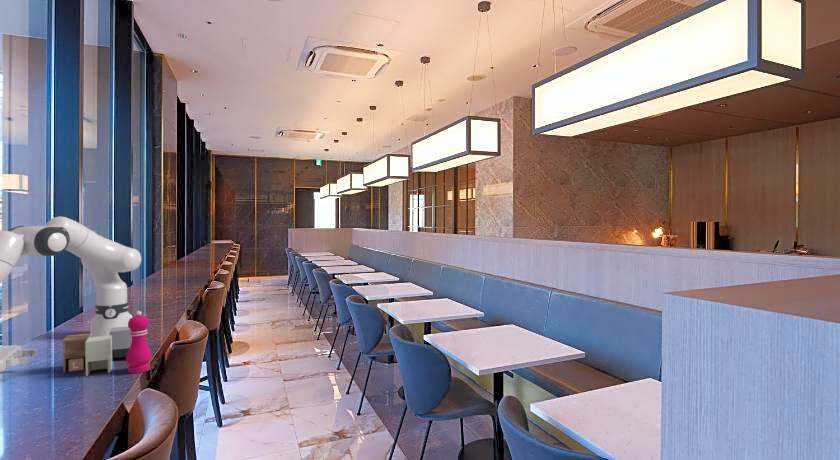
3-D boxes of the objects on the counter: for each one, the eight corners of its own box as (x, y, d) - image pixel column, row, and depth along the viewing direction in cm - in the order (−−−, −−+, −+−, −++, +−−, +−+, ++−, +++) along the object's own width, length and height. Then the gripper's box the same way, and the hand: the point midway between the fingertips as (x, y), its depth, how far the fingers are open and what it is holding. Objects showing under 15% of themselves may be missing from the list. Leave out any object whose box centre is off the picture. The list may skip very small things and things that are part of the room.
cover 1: (89, 370, 151) (88, 337, 151) (112, 367, 154) (111, 335, 154) (85, 376, 145) (85, 342, 145) (109, 372, 148) (109, 339, 148)
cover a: (67, 367, 154) (67, 335, 154) (90, 364, 157) (90, 333, 157) (63, 373, 148) (62, 339, 148) (87, 370, 151) (86, 337, 151)
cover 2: (112, 357, 165) (111, 327, 165) (132, 355, 168) (132, 326, 168) (109, 362, 159) (109, 331, 159) (131, 360, 162) (130, 329, 162)
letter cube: (71, 368, 153) (71, 356, 153) (85, 366, 155) (85, 355, 155) (68, 371, 150) (68, 359, 150) (83, 370, 152) (83, 358, 152)
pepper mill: (133, 367, 154) (133, 309, 154) (155, 366, 155) (155, 308, 154) (121, 374, 147) (120, 313, 146) (144, 373, 147) (144, 312, 147)
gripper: (-41, 361, 131) (21, 354, 138) (-14, 344, 149) (39, 339, 156) (-40, 382, 131) (22, 375, 138) (-14, 363, 149) (39, 357, 156)
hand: (31, 356), depth 147 cm, fingers open, 8 cm apart
